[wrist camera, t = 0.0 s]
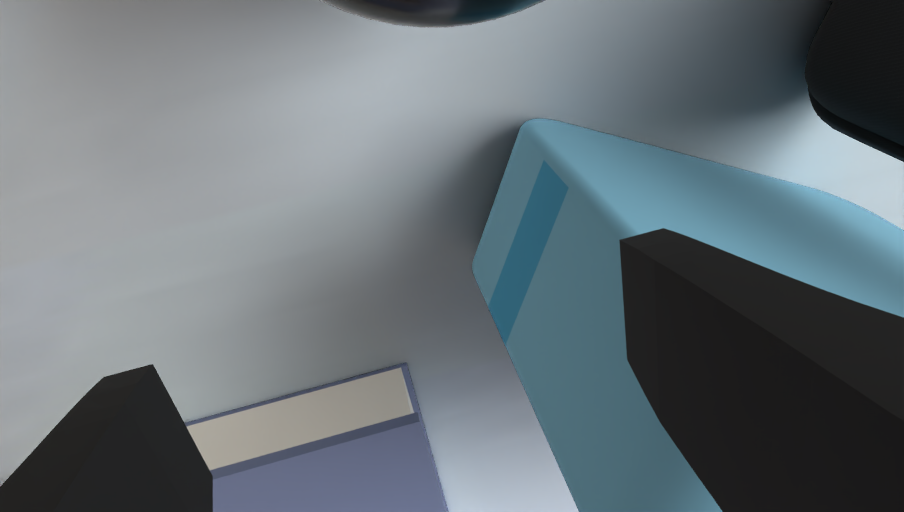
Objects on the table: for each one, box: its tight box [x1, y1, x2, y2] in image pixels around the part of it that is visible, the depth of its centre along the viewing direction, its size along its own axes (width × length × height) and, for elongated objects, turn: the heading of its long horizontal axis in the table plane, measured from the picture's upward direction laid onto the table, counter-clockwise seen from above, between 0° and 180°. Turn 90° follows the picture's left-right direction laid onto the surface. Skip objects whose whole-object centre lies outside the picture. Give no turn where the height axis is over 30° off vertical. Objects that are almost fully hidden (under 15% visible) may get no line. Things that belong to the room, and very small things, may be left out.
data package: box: [472, 119, 904, 512], centre depth 16 cm, size 12×4×12 cm, turn 73°
